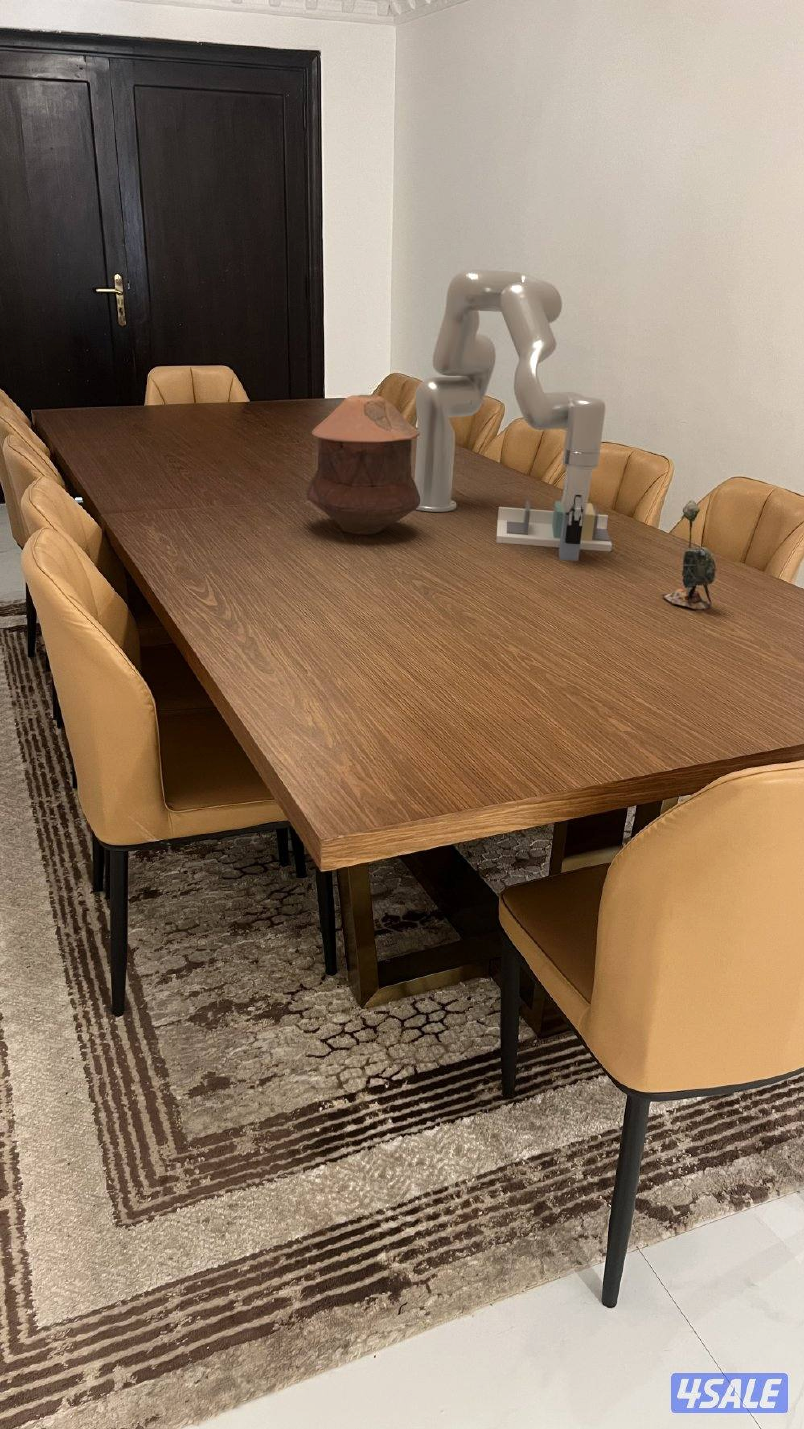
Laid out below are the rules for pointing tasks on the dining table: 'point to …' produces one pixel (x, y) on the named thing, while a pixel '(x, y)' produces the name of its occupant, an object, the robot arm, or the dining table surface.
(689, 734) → the dining table surface
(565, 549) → the boxed book
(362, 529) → the pottery vessel
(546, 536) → the book shelf
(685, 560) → the green and brown figurine
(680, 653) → the dining table surface
